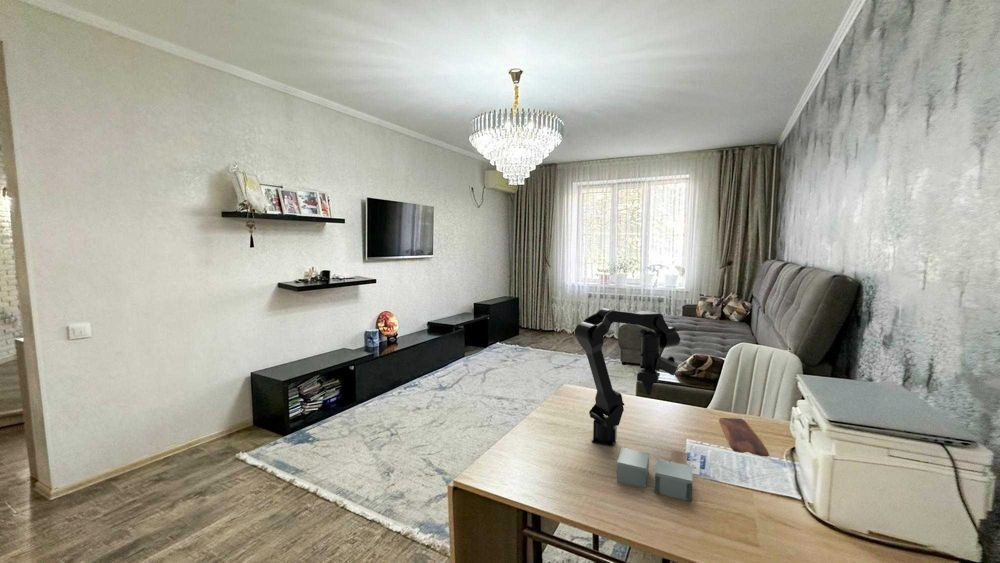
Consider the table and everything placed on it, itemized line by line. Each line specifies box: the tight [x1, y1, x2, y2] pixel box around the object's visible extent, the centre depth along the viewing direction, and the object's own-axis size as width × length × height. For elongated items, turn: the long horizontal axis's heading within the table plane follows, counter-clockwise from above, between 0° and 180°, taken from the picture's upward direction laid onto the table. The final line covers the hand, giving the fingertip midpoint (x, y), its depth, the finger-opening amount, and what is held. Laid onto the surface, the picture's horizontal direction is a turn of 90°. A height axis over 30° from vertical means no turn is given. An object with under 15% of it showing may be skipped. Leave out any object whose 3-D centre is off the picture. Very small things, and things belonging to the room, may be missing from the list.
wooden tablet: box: [718, 417, 769, 457], centre depth 131 cm, size 26×2×10 cm
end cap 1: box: [616, 447, 650, 489], centre depth 107 cm, size 8×7×5 cm
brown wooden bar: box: [670, 449, 688, 465], centre depth 107 cm, size 4×16×4 cm, turn 154°
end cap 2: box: [654, 458, 693, 503], centre depth 101 cm, size 8×7×5 cm
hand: (649, 395), depth 133 cm, fingers closed
